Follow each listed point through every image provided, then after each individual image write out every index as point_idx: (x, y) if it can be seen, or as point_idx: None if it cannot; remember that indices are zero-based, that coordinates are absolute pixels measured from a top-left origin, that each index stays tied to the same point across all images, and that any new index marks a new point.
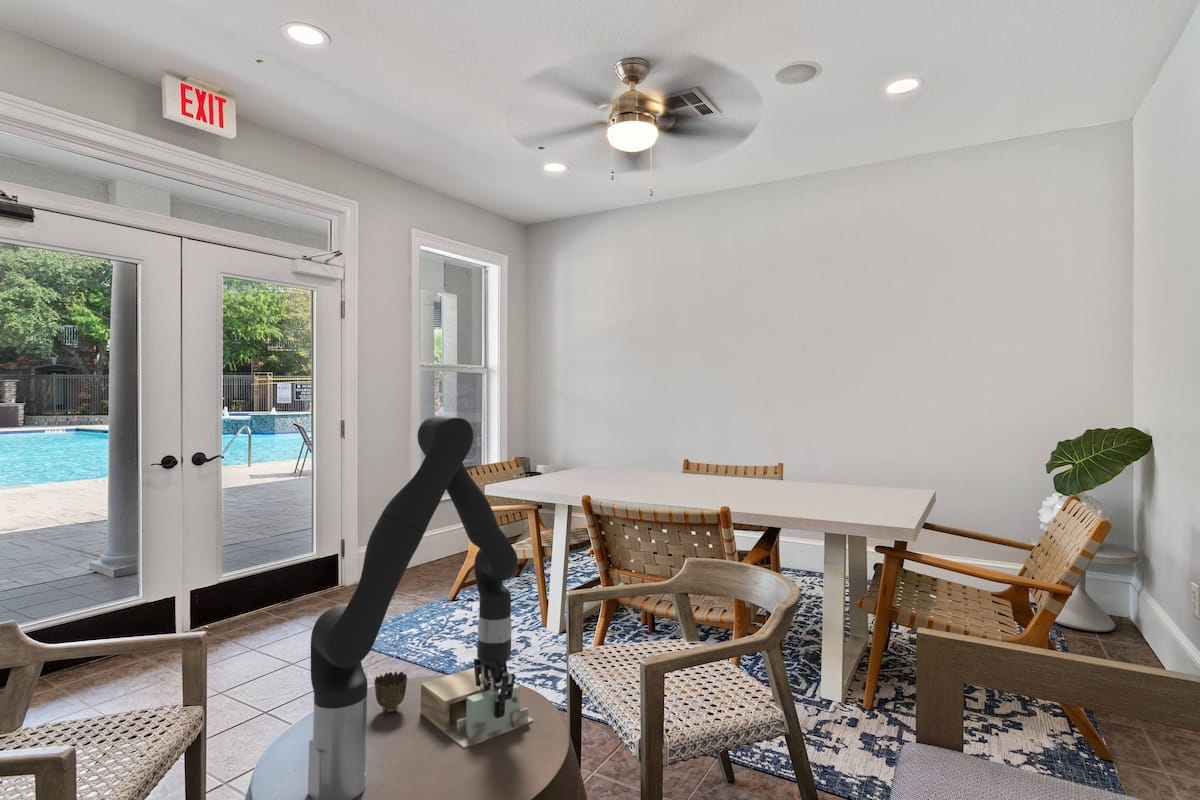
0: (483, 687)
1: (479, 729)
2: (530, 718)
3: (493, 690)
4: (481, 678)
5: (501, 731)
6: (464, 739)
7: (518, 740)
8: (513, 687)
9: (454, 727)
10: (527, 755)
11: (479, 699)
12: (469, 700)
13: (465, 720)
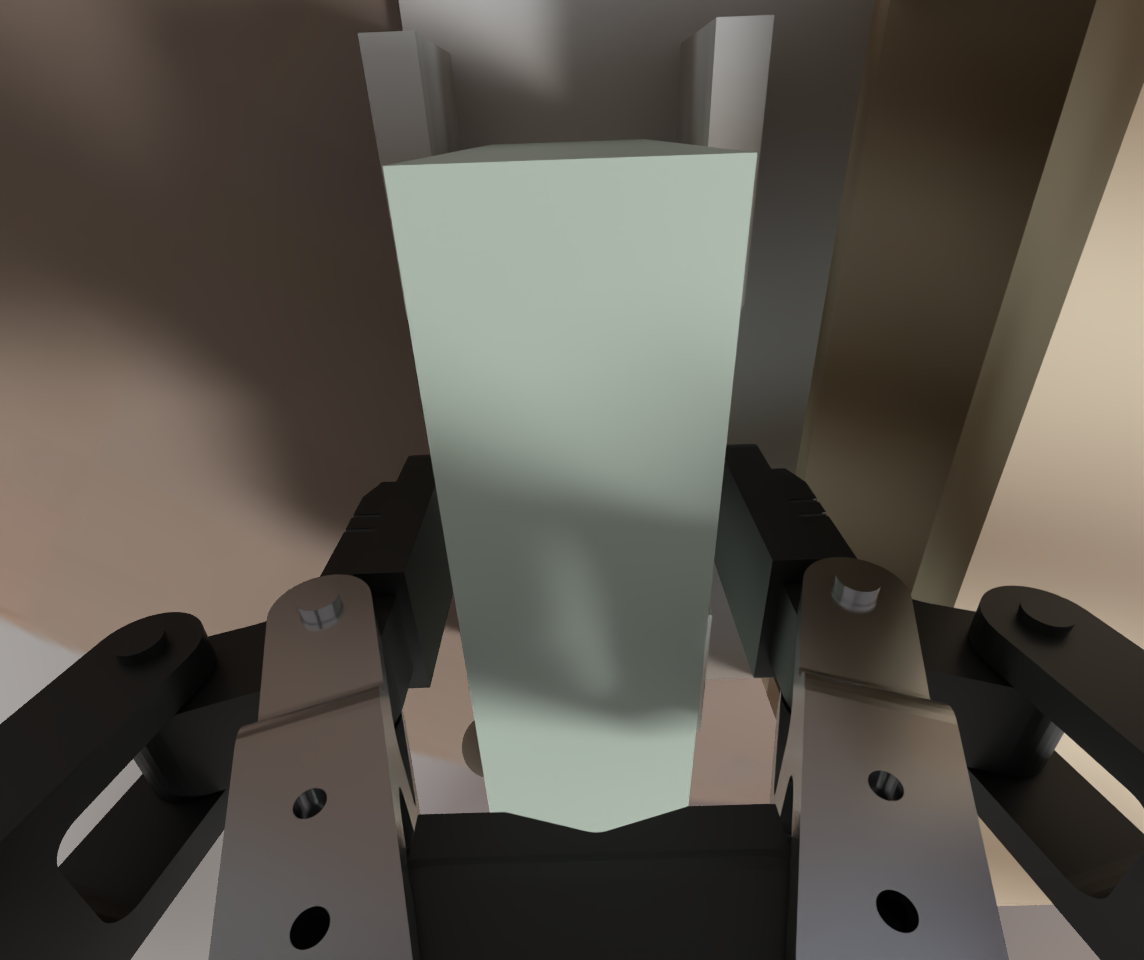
0: (799, 633)
1: None
2: None
3: (336, 698)
4: (905, 780)
5: None
6: (545, 55)
7: (297, 487)
8: None
9: (862, 91)
10: (31, 428)
11: (437, 355)
12: (599, 156)
13: None
